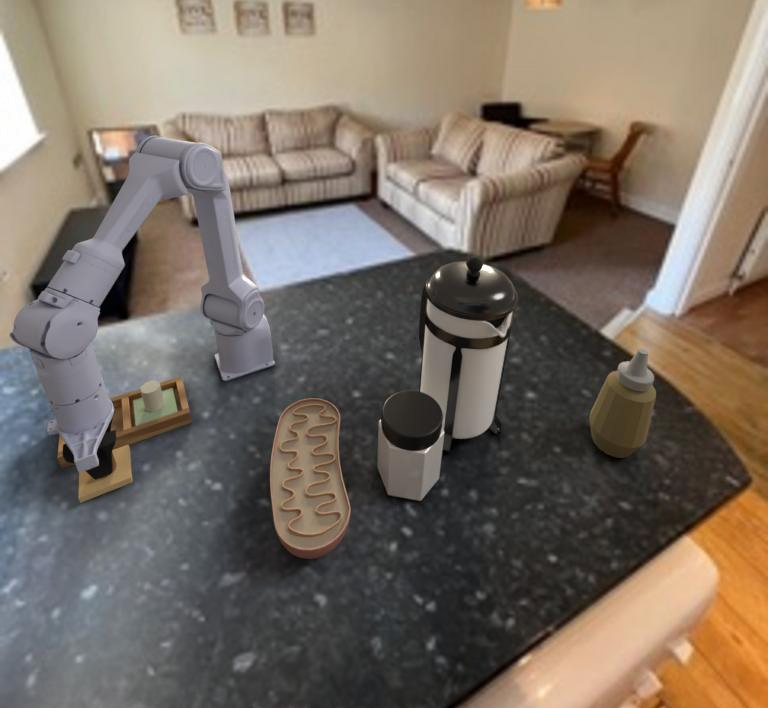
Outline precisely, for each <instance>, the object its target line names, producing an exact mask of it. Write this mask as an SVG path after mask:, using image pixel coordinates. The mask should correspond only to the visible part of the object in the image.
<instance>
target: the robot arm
mask: <svg viewBox="0 0 768 708" xmlns="http://www.w3.org/2000/svg"><path fill="white" fill-rule="evenodd" d="M135 150H136V151H135V152H134V153H133V154H132V155H131V156H130V157H129V159H128V175H127V176H126V179H125V181H124V182H123V184H122V186H121V188H120V189H119V191H118V193H117V195H116V197H115V198H114V200H113V202H112V204H111V205H110V207H109V209H108V211H107V213H106V214H105V216H104V218H103V219H102V221H101V223H100V225H99V227H98V229H97V230H96V232H95V234H94V235H93V237H92V238H89V239H87V240H84V241H80V242H77V243H76V244H75V245H74V246H73V248H72V249H71V250H70V249H68V250H66V252H65V254H64V255H63V257H62V258H61V260H62V261H63V262H62V263H61V265H60V267H59V268H58V269H57V271H56V272H55V274H54V276H53V277H52V278H51V280H50V281H49V283H48V284H47V286H46V288H45V289H44V290H42V291H41V292H40V294H39V295H38V296H37V299H35V300H33V301H31V302H29V303H28V304H26V305H25V306H23V307H22V308H21V309H20V310H19V311H18V313H17V314H16V316H15V318H14V321H13V329H12V331H11V332H10V333H9V337H10V339H11V340H12V341H13V343H15V344H17V345H19V346H22V347H24V348H27V349H29V351H28V352H29V355H30V357H31V360H32V362H33V365H34V367H35V371H36V373H37V376H38V379H39V380H40V383H41V386H42V389H43V391H44V393H45V396H46V399H47V400H48V403H49V406H50V408H51V410H52V413H53V416H54V418H53V419H50V421H48V422H47V424H46V425H47V426H46V432H47V435H48V436H55V435H59V434H60V435H61V437H62V438H63V440H64V441H65V443H66V444H63V452H62V455H63V457H64V459H65V461H66V462H69V463H74V464H75V465H74V466H75V467H76V470H77V472H78V474H79V473H80V472H83V471H86V472H87V473H88V474H89V475H90V476H91V477H92V478H93V479H95V480H96V479H99V478H101V477H104V476H107V475H109V474H111V473H112V471H113V461H112V450H113V447H114V446H115V442H116V430H113V431H111V424H112V419H113V416H114V414H115V405H114V402H113V401H111V400H110V399H109V398H110V396H109V394H108V390H107V387H106V384H105V381H104V377H103V375H102V371H101V369H100V366H99V361H98V360H97V356H96V353H95V349H94V347H93V344H92V342H93V340H94V339H96V337H97V334H98V330H99V329H98V328H99V322H98V321H99V316H100V314H101V312H100V311H101V308H100V307H101V305H102V304H103V302H104V300H105V299H106V297H107V296H108V294H109V292H110V291H111V289H112V288H113V286H114V284H115V282H116V281H117V279H118V278H119V276H120V274H121V273H122V271H123V270H124V268H125V267H126V263H125V260H124V257H123V251H124V249H125V248H126V246H127V245H128V244H129V242H130V241H131V239H133V237H134V236H135V234H136V233H137V232H138V230H139V229H140V227H141V226H142V225H143V223H144V222H145V220H147V218H148V216H150V214H151V213H152V212H153V210H154V208H155V207H156V206H157V204H158V203H160V202H161V201H164V200H169V199H174V198H175V199H176V198H178V197H183V196H187V195H188V194H190V195H192V197H193V203H194V208H195V213H196V218H197V223H198V228H199V234H200V239H201V243H202V249H203V253H204V259H205V264H206V269H207V274H208V279H207V280H206V281H205V282H204V283H203V284H202V285H201V286H200V290H201V301H200V311H201V314H202V316H203V317H204V318H206V319H209V322H210V325H212V327H213V329H214V335H215V342H216V347H217V353H215V354H214V355H213V356H214V360H215V362H216V365H217V368H218V371H219V374H220V377H221V379H222V382H227V381H232V380H235V379H237V378H240V377H243V376H247V375H249V374H252V373H256V372H258V371H261V370H264V369H267V368H270V367H273V366H275V365H276V361H275V360H274V351H273V349H274V348H273V340H272V333H271V328H270V324H269V321H268V319H267V316H266V315H265V302H264V298H262V296H261V295H260V292H259V287H258V286H257V285H256V284H255V283H254V282H253V281H252V280H251V279H249V277H247V276H246V275H245V274H244V272H243V265H242V258H241V252H240V245H239V239H238V232H237V226H236V220H235V219H236V218H235V213H234V207H233V200H232V195H231V188H230V182H229V181H230V180H229V177H228V174H227V173H226V170H225V168H224V161H223V156H222V151H220V150H219V149H217V148H215V147H213V146H211V145H210V144H208V143H205V142H193V141H186V140H181V139H180V140H179V139H174V138H168V137H162V136H160V135H150V136H147V137H145V138H144V139H142V140H141V141H140V142H139V144H138V145H137V148H136V149H135Z"/></svg>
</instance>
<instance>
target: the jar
mask: <svg viewBox="0 0 768 708" xmlns="http://www.w3.org/2000/svg"><path fill="white" fill-rule="evenodd" d="M380 413H381V414H380V419H379V420H378V426H377V427H378V428H377V429H378V431H377V432H378V433H377V464H376V465H377V466H376V467H377V470H378V473H379V475H380V478H381V481H382V483H383V486H384V488H385V491H386V494H387V495H388V496H391V497H397V498H403V499H408V500H412V501H419V502H421V501H423V499H424V498H425V496H426V495H427V494H428V493H429V492H430V491H431V489H432V488H433V487H434V486H435V484H436V483H437V482H438V481H439V480H440V475H441V467H442V457H443V452H442V450H443V441H444V430H443V429H442V420H443V413H442V409H441V407H440V405H439V404H438V403H437V401H436V400H435V399H433V398H432V397H431V396H429V395H427V394H425V393H422V392H419V390H412V389H411V390H402V391H398V392H395V393H393V394H392V395H390V396H389V397H388V398H386V400H385V401H384V403H383V405H382V407H381V412H380Z"/></svg>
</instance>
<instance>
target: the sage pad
mask: <svg viewBox="0 0 768 708" xmlns="http://www.w3.org/2000/svg"><path fill="white" fill-rule="evenodd" d="M160 383H161V382H159V381H157V380H150V381H146V382H145V383H143V384H142V385H141V387H140V388H139V389H140V391H141V395H142V398H139V399H136V400H133V406H134V416H135V426H138V425H141V424H144V423H147V422H149V421H152V420H155V419H158V418H161V417H164V416H167V415H170V414H173V413H176V412H178V410H177V405H176V401H175V396H174V391H173V388H170V389H167V390H164V391H162V390H161V386H160Z"/></svg>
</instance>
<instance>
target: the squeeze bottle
mask: <svg viewBox="0 0 768 708" xmlns="http://www.w3.org/2000/svg"><path fill="white" fill-rule="evenodd" d="M648 360H649V351H648V350H646V349H644V348H639V349H637V351H636V352H635V354H634V356H633V357H632V358H631V360H630V361H629V360H627V361H622V362H620V363H619V364H618V366H617V368H616V370H614V371H611V372H610V373H608V375H607V376H606V378H605V381H604V382H603V385H602V387H601V389H600V391H599V393H598V395H597V397H596V399H595V402H594V403H593V406H592V408H591V410H590V412H589V418H588V419H589V420H588V421H589V427H590V434H591V438H592V441H593V443H594V445H595V446H596V447H597V448H598V449H599V450H600V451H602V452H603V453H604V454H606V455H608V456H611V457H613V458H619V459H624V458H628V457H630V456H631V455H632V454H634V453H635V452H636V451H637V450H638V449H640V448H641V447H642V446H643V445H644V444H645V443H646V442H647V439H648V435H649V432H650V431H649V430H650V426H651V421H652V417H653V413H654V407H655V403H656V398H657V390H656V389H655V387H654V385H653V384H654V381H655V375H654V373H653V372H652V370H650V369H649V368H648V362H649V361H648Z"/></svg>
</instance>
